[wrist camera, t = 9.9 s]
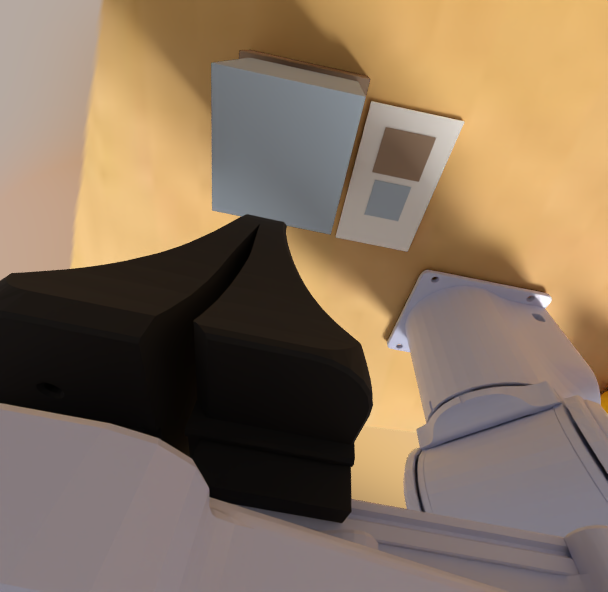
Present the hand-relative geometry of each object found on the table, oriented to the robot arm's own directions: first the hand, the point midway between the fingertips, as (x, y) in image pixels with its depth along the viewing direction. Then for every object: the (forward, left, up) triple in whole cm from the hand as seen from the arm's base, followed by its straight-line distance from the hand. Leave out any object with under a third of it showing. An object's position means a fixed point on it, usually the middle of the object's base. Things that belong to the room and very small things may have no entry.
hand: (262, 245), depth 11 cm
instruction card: (-6, 0, -10) cm, 12 cm away
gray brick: (0, -2, -8) cm, 9 cm away
